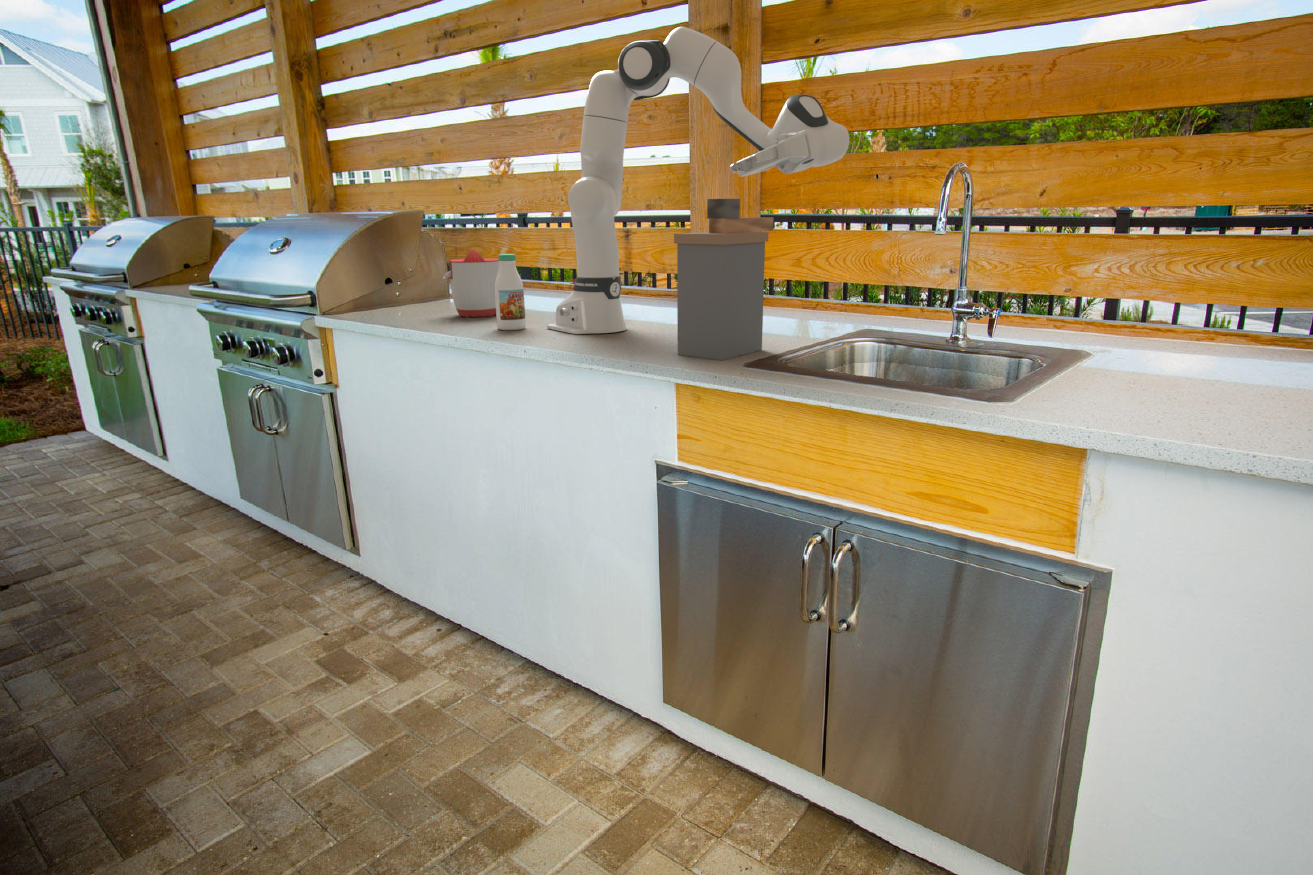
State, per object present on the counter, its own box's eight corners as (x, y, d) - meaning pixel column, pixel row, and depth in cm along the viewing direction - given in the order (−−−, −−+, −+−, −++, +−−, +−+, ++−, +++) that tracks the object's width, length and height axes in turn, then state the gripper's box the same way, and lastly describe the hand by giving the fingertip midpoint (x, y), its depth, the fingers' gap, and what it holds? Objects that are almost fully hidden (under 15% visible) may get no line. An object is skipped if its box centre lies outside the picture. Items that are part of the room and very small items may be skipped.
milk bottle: (491, 330, 208) (486, 254, 203) (507, 326, 215) (502, 253, 210) (516, 331, 206) (511, 255, 200) (531, 327, 212) (526, 253, 207)
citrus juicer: (445, 313, 243) (439, 249, 237) (500, 311, 248) (496, 247, 242) (447, 320, 228) (441, 251, 223) (506, 317, 233) (502, 250, 228)
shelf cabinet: (674, 354, 170) (674, 233, 163) (717, 344, 183) (719, 231, 175) (722, 361, 162) (724, 234, 155) (764, 349, 175) (768, 232, 167)
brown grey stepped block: (707, 233, 165) (707, 199, 163) (756, 230, 180) (757, 199, 178) (726, 233, 162) (726, 198, 160) (774, 230, 177) (775, 199, 175)
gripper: (762, 151, 187) (715, 160, 181) (815, 126, 168) (766, 136, 163) (767, 177, 188) (722, 187, 182) (821, 155, 170) (772, 166, 164)
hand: (743, 163), depth 172 cm, fingers open, 8 cm apart
